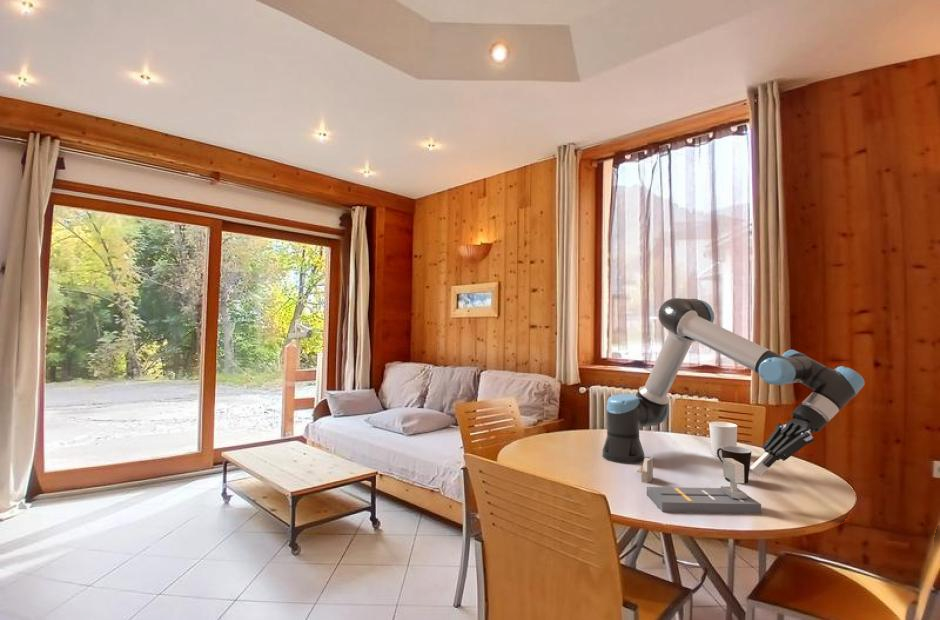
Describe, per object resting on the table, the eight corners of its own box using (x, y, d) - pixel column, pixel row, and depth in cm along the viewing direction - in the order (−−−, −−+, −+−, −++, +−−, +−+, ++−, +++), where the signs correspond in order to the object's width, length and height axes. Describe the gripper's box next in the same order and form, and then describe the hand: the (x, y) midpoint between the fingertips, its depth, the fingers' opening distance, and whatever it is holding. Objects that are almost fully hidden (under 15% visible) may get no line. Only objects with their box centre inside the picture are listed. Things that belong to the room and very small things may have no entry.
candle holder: (743, 459, 174) (743, 427, 174) (717, 458, 174) (717, 426, 174) (729, 452, 184) (728, 421, 184) (704, 451, 184) (704, 421, 184)
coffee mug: (756, 485, 144) (756, 453, 144) (726, 483, 146) (726, 452, 146) (742, 474, 156) (742, 444, 156) (714, 472, 157) (714, 443, 158)
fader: (732, 498, 126) (732, 464, 126) (720, 490, 132) (720, 458, 132) (747, 498, 126) (746, 464, 126) (734, 490, 132) (734, 458, 132)
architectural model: (636, 482, 148) (636, 459, 149) (643, 477, 154) (643, 454, 154) (647, 484, 146) (647, 461, 147) (653, 479, 152) (653, 456, 152)
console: (662, 511, 124) (662, 501, 124) (646, 495, 136) (646, 486, 136) (761, 513, 123) (761, 503, 123) (736, 497, 135) (736, 488, 135)
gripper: (842, 427, 122) (779, 490, 122) (807, 418, 135) (750, 474, 135) (821, 407, 122) (758, 469, 122) (788, 399, 135) (732, 456, 135)
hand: (754, 472), depth 129 cm, fingers closed
